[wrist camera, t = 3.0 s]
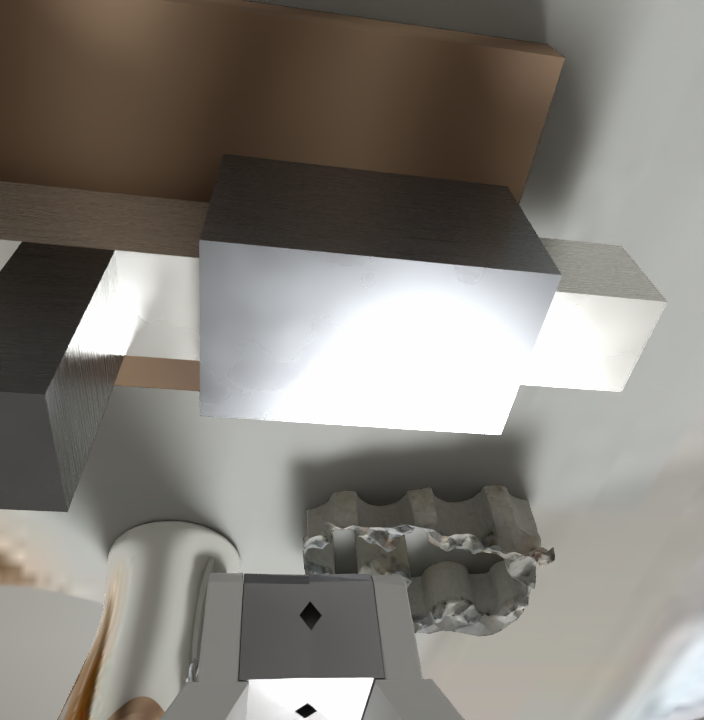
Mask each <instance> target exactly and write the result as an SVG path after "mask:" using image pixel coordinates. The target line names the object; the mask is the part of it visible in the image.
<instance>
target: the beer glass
mask: <svg viewBox="0 0 704 720" xmlns="http://www.w3.org/2000/svg"><path fill="white" fill-rule="evenodd" d="M210 573H240V558H239V554H238V552H237V550H236V549H235V547H234V546H233V545H232V544H231V542H230V541H228V540H227V539H226V538H225V537H224V536H222V535H221V534H219V533H217V532H215V531H214V530H211V529H209V528H207V527H204V526H201V525H198V524H193V523H188V522H182V521H158V522H151V523H147V524H143V525H140V526H137V527H134V528H132V529H130V530H128V531H126V532H125V533H123V534H122V535H121V536H120V537H118V538H117V539H116V541H115V542H114V543H113V545H112V547H111V549H110V551H109V555H108V560H107V570H106V585H105V598H104V605H103V610H102V615H101V619H100V623H99V626H98V629H97V632H96V635H95V638H94V641H93V643H92V646H91V648H90V650H89V652H88V655H87V657H86V659H85V662H84V664H83V666H82V668H81V670H80V673H79V675H78V677H77V679H76V681H75V683H74V685H73V687H72V690H71V691H70V693H69V696H68V698H67V700H66V702H65V704H64V706H63V709H62V711H61V713H60V715H59V717H58V719H57V720H160V718H161V717H162V716H163V714H164V713H165V711H166V710H167V709H168V707H169V706H170V705H171V703H172V702H173V701H174V699H175V698H176V696H177V695H178V694H179V692H180V691H181V690H182V688H183V687H184V686H185V684H186V683H187V682H197V679H198V670H199V661H200V651H201V642H202V633H203V623H204V614H205V604H206V595H207V586H208V581H209V577H210Z"/></svg>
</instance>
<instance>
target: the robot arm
mask: <svg viewBox="0 0 704 720" xmlns="http://www.w3.org/2000/svg"><path fill="white" fill-rule="evenodd" d="M160 720H464V718H463V717H462V716H461V715H460V713H459V712H458V711H457V710H456V708H455V707H454V706H453V705H452V703H451V702H450V701H449V700H448V698H447V697H446V696H445V695H444V693H443V692H442V691H441V690H440V688H439V687H438V686H437V685H436V683H435V682H434V681H433V680H432V679H423V678H422V673H421V667H420V661H419V655H418V650H417V644H416V638H415V633H414V627H413V621H412V615H411V610H410V604H409V598H408V593H407V587H406V582H405V580H404V579H403V577H402V576H401V575H369V574H307V575H291V574H244V583H243V573H210V577H209V581H208V586H207V595H206V604H205V614H204V623H203V633H202V642H201V651H200V661H199V670H198V679H197V682H187V683H186V684H185V686H184V687H183V688H182V690H181V691H180V692H179V694H178V695H177V696H176V698H175V699H174V701H173V702H172V703H171V705H170V706H169V707H168V709H167V710H166V711H165V713H164V714H163V716H162V717H161V718H160Z"/></svg>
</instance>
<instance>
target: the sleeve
mask: <svg viewBox="0 0 704 720" xmlns="http://www.w3.org/2000/svg"><path fill="white" fill-rule="evenodd" d="M561 277H562V274H561V273H560V271H559V269H558V268H557V266H556V265H555V263H554V261H553V260H552V258H551V256H550V255H549V253H548V251H547V250H546V248H545V247H544V245H543V243H542V242H541V240H540V238H539V237H538V235H537V234H536V232H535V230H534V229H533V227H532V225H531V224H530V222H529V221H528V219H527V217H526V216H525V214H524V212H523V211H522V209H521V208H520V206H519V204H518V203H517V201H516V199H515V198H514V196H513V194H512V193H511V191H510V190H509V188H508V186H500V185H492V184H483V183H474V182H465V181H457V180H448V179H439V178H430V177H422V176H413V175H404V174H396V173H387V172H378V171H369V170H361V169H352V168H343V167H334V166H326V165H317V164H308V163H299V162H291V161H282V160H273V159H264V158H256V157H247V156H238V155H230V154H223V157H222V161H221V164H220V168H219V172H218V175H217V179H216V182H215V186H214V189H213V193H212V196H211V200H210V204H209V207H208V211H207V214H206V218H205V221H204V225H203V228H202V232H201V236H200V239H199V291H200V416H208V417H224V418H240V419H256V420H271V421H287V422H303V423H319V424H335V425H351V426H367V427H382V428H398V429H414V430H430V431H446V432H462V433H477V434H493V435H501V433H502V430H503V428H504V425H505V423H506V420H507V417H508V415H509V412H510V409H511V407H512V404H513V402H514V399H515V396H516V394H517V391H518V389H519V386H520V383H521V381H522V378H523V376H524V373H525V370H526V368H527V365H528V363H529V360H530V357H531V355H532V352H533V350H534V347H535V344H536V342H537V339H538V337H539V334H540V331H541V329H542V326H543V323H544V321H545V318H546V316H547V313H548V310H549V308H550V305H551V303H552V300H553V297H554V295H555V292H556V290H557V287H558V284H559V282H560V279H561Z"/></svg>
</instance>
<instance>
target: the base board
mask: <svg viewBox="0 0 704 720" xmlns="http://www.w3.org/2000/svg"><path fill="white" fill-rule="evenodd" d="M564 60H565V57H563V56H562V55H561V54H559V53H558V52H557V51H556V50H554V49H553V48H552V47H550V46H549V45H548V44H541V43H534V42H527V41H520V40H513V39H506V38H500V37H493V36H486V35H479V34H472V33H465V32H458V31H451V30H444V29H437V28H431V27H424V26H417V25H410V24H403V23H396V22H389V21H382V20H375V19H368V18H362V17H355V16H348V15H341V14H334V13H327V12H320V11H313V10H306V9H299V8H292V7H286V6H279V5H272V4H265V3H258V2H251V1H244V0H0V181H4V182H14V183H24V184H33V185H43V186H52V187H62V188H71V189H81V190H90V191H100V192H110V193H119V194H129V195H138V196H148V197H157V198H167V199H176V200H186V201H196V202H205V203H210V200H211V196H212V193H213V189H214V186H215V182H216V179H217V175H218V172H219V168H220V164H221V161H222V157H223V154H230V155H238V156H247V157H256V158H264V159H273V160H282V161H291V162H299V163H308V164H317V165H326V166H334V167H343V168H352V169H361V170H369V171H378V172H387V173H396V174H404V175H413V176H422V177H430V178H439V179H448V180H457V181H465V182H474V183H483V184H492V185H500V186H508V188H509V190H510V191H511V193H512V194H513V196H514V198H515V199H516V201H517V203H518V204H519V203H520V200H521V197H522V194H523V190H524V187H525V184H526V181H527V178H528V175H529V171H530V168H531V165H532V162H533V159H534V155H535V152H536V149H537V146H538V143H539V139H540V136H541V133H542V130H543V127H544V124H545V120H546V117H547V114H548V111H549V108H550V104H551V101H552V98H553V95H554V92H555V89H556V85H557V82H558V79H559V76H560V73H561V69H562V66H563V63H564ZM114 385H117V386H132V387H146V388H161V389H176V390H191V391H200V361H196V360H182V359H169V358H155V357H141V356H128V355H125V356H124V359H123V362H122V365H121V367H120V370H119V373H118V375H117V378H116V381H115V384H114Z"/></svg>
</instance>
